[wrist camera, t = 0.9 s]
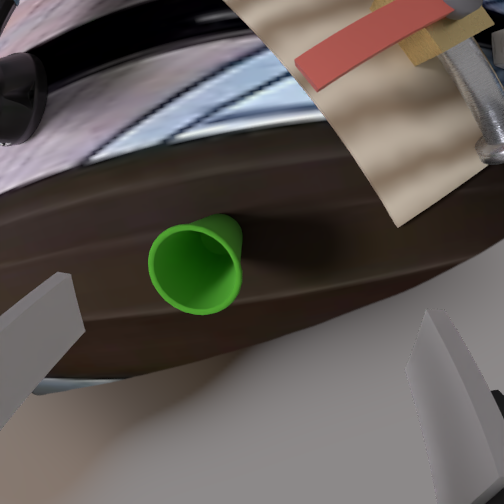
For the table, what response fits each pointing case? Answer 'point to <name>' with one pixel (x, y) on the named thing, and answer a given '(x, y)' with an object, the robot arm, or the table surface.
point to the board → (379, 104)
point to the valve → (464, 73)
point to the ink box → (498, 48)
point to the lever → (375, 36)
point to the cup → (198, 264)
